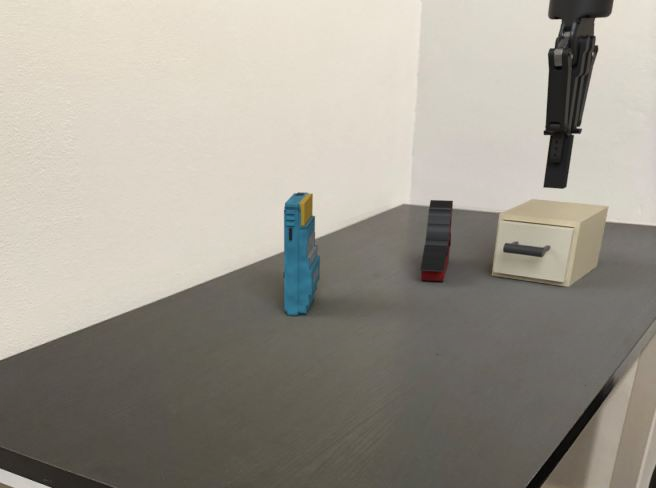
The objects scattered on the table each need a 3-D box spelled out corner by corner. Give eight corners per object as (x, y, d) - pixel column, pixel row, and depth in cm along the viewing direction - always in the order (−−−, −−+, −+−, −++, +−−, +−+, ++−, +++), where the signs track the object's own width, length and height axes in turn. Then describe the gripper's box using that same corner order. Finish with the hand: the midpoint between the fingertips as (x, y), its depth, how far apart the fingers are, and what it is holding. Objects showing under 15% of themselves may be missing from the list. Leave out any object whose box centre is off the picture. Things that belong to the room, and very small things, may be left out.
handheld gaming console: (293, 296, 120) (292, 191, 112) (319, 297, 120) (321, 192, 112) (281, 316, 112) (280, 204, 104) (310, 317, 111) (311, 205, 104)
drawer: (554, 288, 118) (563, 235, 114) (482, 278, 124) (488, 226, 120) (590, 263, 131) (599, 214, 126) (523, 254, 136) (530, 207, 132)
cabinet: (568, 287, 122) (580, 222, 117) (491, 275, 129) (499, 213, 124) (596, 266, 132) (608, 206, 127) (523, 256, 139) (532, 198, 134)
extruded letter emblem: (429, 258, 139) (435, 190, 133) (449, 259, 138) (456, 191, 132) (419, 285, 124) (425, 211, 118) (441, 287, 123) (449, 212, 117)
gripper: (600, -24, 90) (567, 196, 102) (630, -20, 99) (596, 182, 111) (535, -19, 94) (510, 192, 106) (569, -16, 103) (543, 178, 115)
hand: (554, 187), depth 108 cm, fingers closed
